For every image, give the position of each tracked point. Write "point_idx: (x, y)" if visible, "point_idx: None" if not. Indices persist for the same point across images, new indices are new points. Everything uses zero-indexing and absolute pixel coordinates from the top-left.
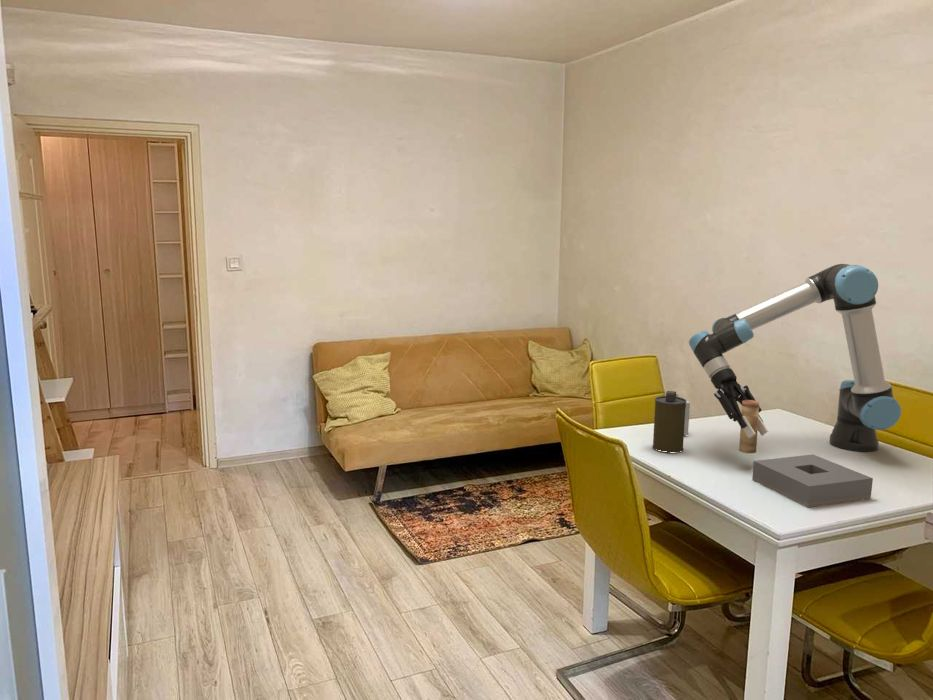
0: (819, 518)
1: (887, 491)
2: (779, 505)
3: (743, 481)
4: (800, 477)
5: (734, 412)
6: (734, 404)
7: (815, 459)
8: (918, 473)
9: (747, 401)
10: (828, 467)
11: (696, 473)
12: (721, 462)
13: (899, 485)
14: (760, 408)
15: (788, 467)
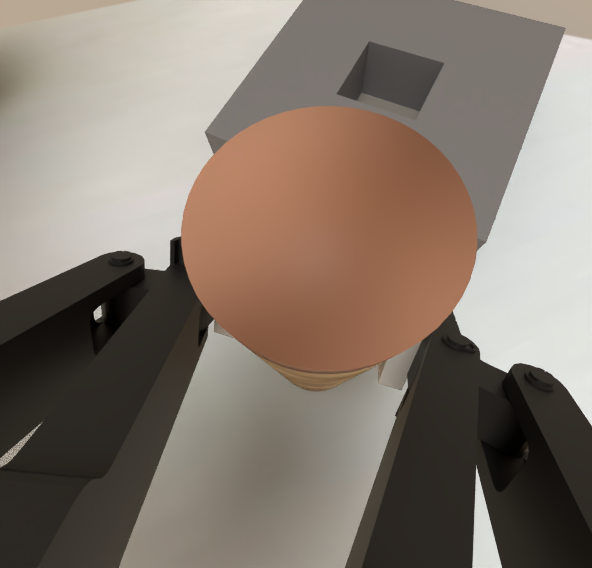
0: (565, 53)
1: (241, 29)
2: (582, 136)
3: (492, 290)
4: (510, 67)
5: (545, 394)
6: (474, 479)
7: (265, 106)
8: (47, 28)
9: (335, 271)
10: (324, 55)
11: None
12: (351, 465)
13: (174, 27)
14: (98, 260)
15: (441, 127)
